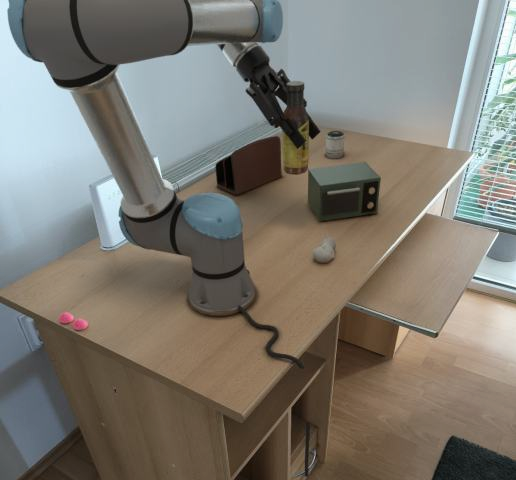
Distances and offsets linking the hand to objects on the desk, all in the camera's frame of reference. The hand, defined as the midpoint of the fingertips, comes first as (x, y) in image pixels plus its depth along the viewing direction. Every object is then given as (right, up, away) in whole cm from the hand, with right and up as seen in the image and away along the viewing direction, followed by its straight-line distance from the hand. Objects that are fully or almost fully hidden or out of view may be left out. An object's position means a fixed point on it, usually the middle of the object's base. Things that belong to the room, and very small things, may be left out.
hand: (309, 140), depth 119 cm
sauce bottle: (-3, -5, +7) cm, 9 cm away
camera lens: (+15, +19, +61) cm, 66 cm away
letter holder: (-15, +5, +47) cm, 50 cm away
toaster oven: (+13, -9, +28) cm, 32 cm away
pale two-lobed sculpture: (+5, -26, +10) cm, 28 cm away
